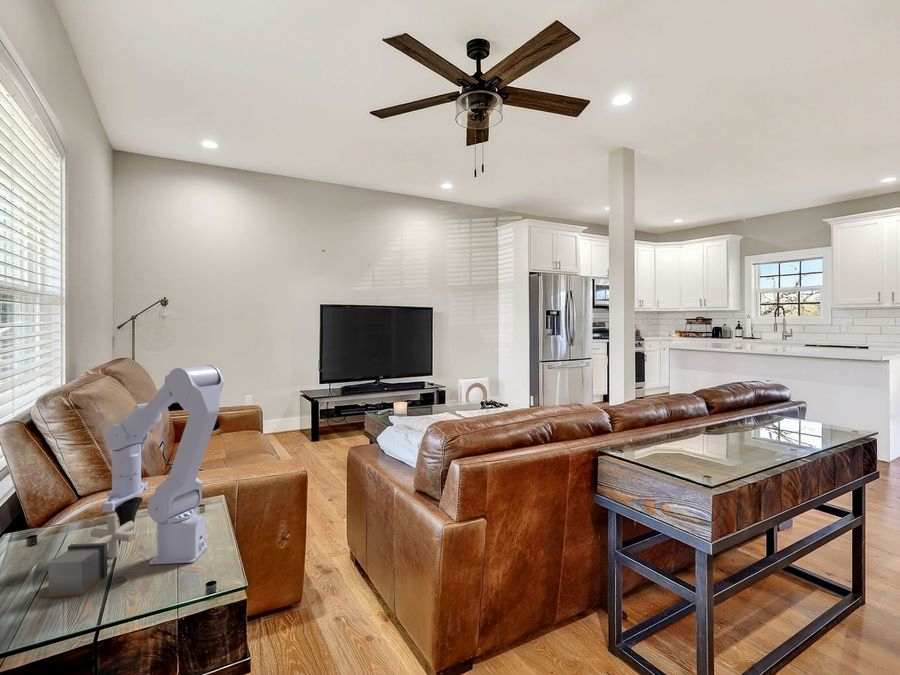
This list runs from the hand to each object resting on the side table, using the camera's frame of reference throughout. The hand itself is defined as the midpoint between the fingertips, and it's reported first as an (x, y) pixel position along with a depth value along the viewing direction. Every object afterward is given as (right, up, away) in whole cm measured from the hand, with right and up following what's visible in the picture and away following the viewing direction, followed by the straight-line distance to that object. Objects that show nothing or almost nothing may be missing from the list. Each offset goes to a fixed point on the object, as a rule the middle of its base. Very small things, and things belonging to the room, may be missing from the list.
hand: (126, 529), depth 113 cm
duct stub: (+2, -4, -18) cm, 18 cm away
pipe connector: (+1, -4, -5) cm, 6 cm away
